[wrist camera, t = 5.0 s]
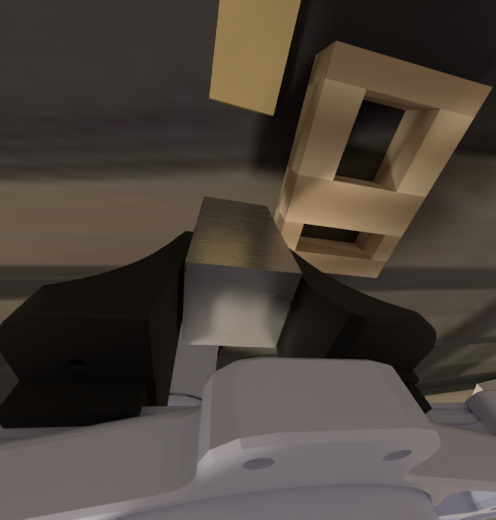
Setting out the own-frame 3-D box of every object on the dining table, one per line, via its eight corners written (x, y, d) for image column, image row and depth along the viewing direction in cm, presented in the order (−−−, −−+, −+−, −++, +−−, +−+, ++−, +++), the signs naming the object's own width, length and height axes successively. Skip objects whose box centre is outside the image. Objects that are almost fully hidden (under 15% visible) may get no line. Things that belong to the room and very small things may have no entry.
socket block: (359, 260, 23) (376, 277, 20) (266, 249, 21) (271, 267, 18) (448, 92, 15) (492, 87, 13) (315, 55, 14) (336, 40, 11)
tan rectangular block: (268, 116, 15) (273, 115, 14) (211, 100, 15) (209, 98, 13) (296, -9, 12) (307, -29, 11) (226, -37, 12) (226, -63, 10)
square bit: (254, 258, 15) (275, 347, 9) (199, 252, 14) (181, 344, 8) (266, 205, 13) (302, 273, 7) (204, 196, 12) (185, 261, 6)
